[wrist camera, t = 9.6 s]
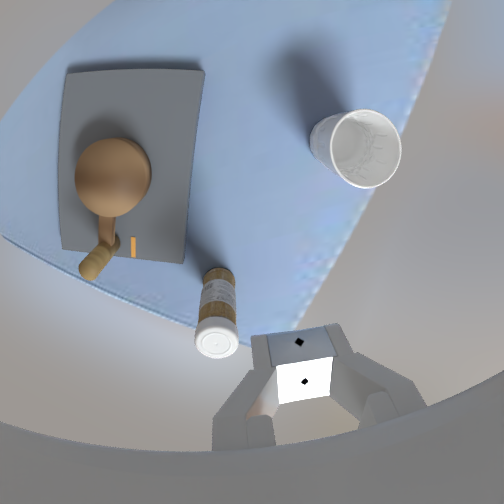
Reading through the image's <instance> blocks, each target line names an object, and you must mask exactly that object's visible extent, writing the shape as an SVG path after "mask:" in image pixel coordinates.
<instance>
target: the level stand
mask: <svg viewBox="0 0 504 504" xmlns="http://www.w3.org/2000/svg"><path fill="white" fill-rule="evenodd" d="M204 79H205V72H204V71H198V70H181V69H119V70H102V71H90V72H80V73H71V74H67V75H66V81H65V88H64V95H63V103H62V113H61V123H60V137H59V161H58V192H59V216H60V230H61V242H62V249H64V250H71V251H79V252H87V253H90V252H91V251H92V250H93V249H94V248H95V247H96V246H97V245H98V229H99V215H98V214H95V213H94V212H92V211H91V210H89V209H88V208H87V207H86V206H85V205H84V204H83V202H82V201H81V199H80V198H79V196H78V193H77V191H76V187H75V168H76V165H77V162H78V160H79V158H80V156H81V154H82V153H83V152H84V150H85V149H86V148H87V147H89V146H90V145H91V144H93V143H94V142H97V141H99V140H103V139H109V138H116V137H122V138H127V139H130V140H132V141H134V142H136V143H137V144H139V145H140V146H141V147H142V148H143V150H144V151H145V152H146V154H147V156H148V158H149V160H150V163H151V168H152V179H151V184H150V187H149V190H148V192H147V193H146V195H145V197H144V198H143V199H142V200H141V201H140V202H139V203H138V204H137V205H136V206H134V207H133V208H132V209H131V210H130V211H128V212H127V213H125V214H123V215H120V216H116V223H115V235H116V236H117V237H118V238H119V239H120V243H121V245H120V248H119V249H118V251H117V252H116V253H115V254H114V255H113V256H118V257H127V258H135V259H143V260H152V261H160V262H169V263H178V264H183V262H184V259H185V247H186V233H187V220H188V208H189V197H190V186H191V176H192V167H193V158H194V150H195V141H196V133H197V126H198V119H199V111H200V105H201V98H202V91H203V85H204Z"/></svg>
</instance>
